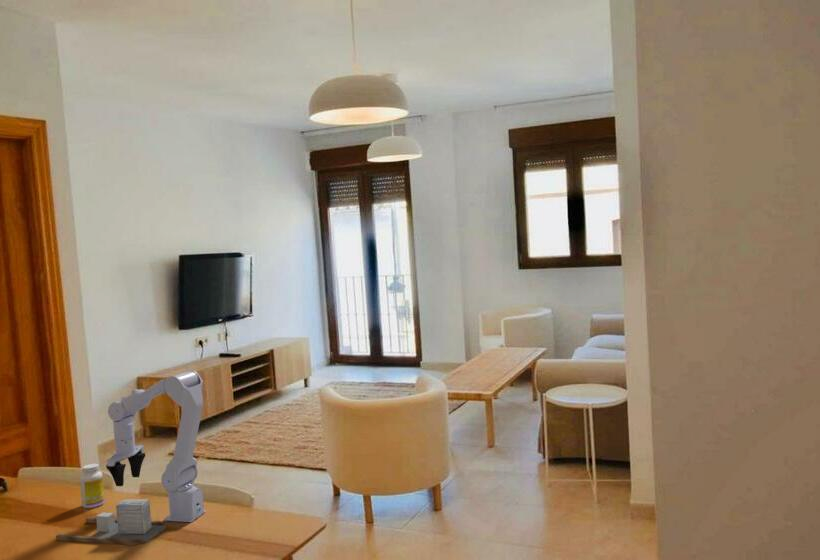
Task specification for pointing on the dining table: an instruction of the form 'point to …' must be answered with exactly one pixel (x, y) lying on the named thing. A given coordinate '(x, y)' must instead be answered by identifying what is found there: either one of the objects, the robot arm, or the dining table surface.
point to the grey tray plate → (110, 529)
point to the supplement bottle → (92, 486)
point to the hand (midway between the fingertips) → (127, 481)
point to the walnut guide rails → (101, 539)
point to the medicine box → (133, 516)
